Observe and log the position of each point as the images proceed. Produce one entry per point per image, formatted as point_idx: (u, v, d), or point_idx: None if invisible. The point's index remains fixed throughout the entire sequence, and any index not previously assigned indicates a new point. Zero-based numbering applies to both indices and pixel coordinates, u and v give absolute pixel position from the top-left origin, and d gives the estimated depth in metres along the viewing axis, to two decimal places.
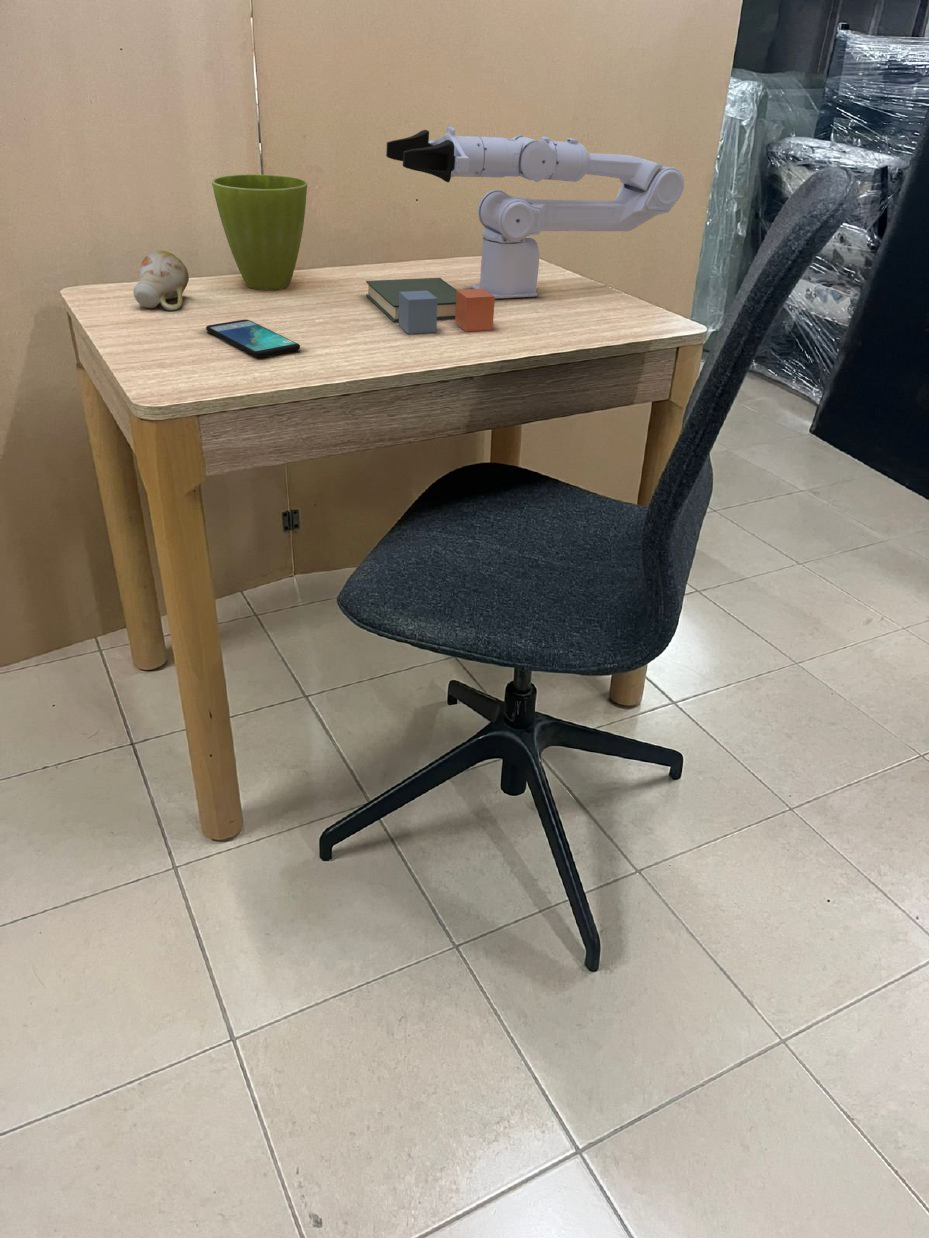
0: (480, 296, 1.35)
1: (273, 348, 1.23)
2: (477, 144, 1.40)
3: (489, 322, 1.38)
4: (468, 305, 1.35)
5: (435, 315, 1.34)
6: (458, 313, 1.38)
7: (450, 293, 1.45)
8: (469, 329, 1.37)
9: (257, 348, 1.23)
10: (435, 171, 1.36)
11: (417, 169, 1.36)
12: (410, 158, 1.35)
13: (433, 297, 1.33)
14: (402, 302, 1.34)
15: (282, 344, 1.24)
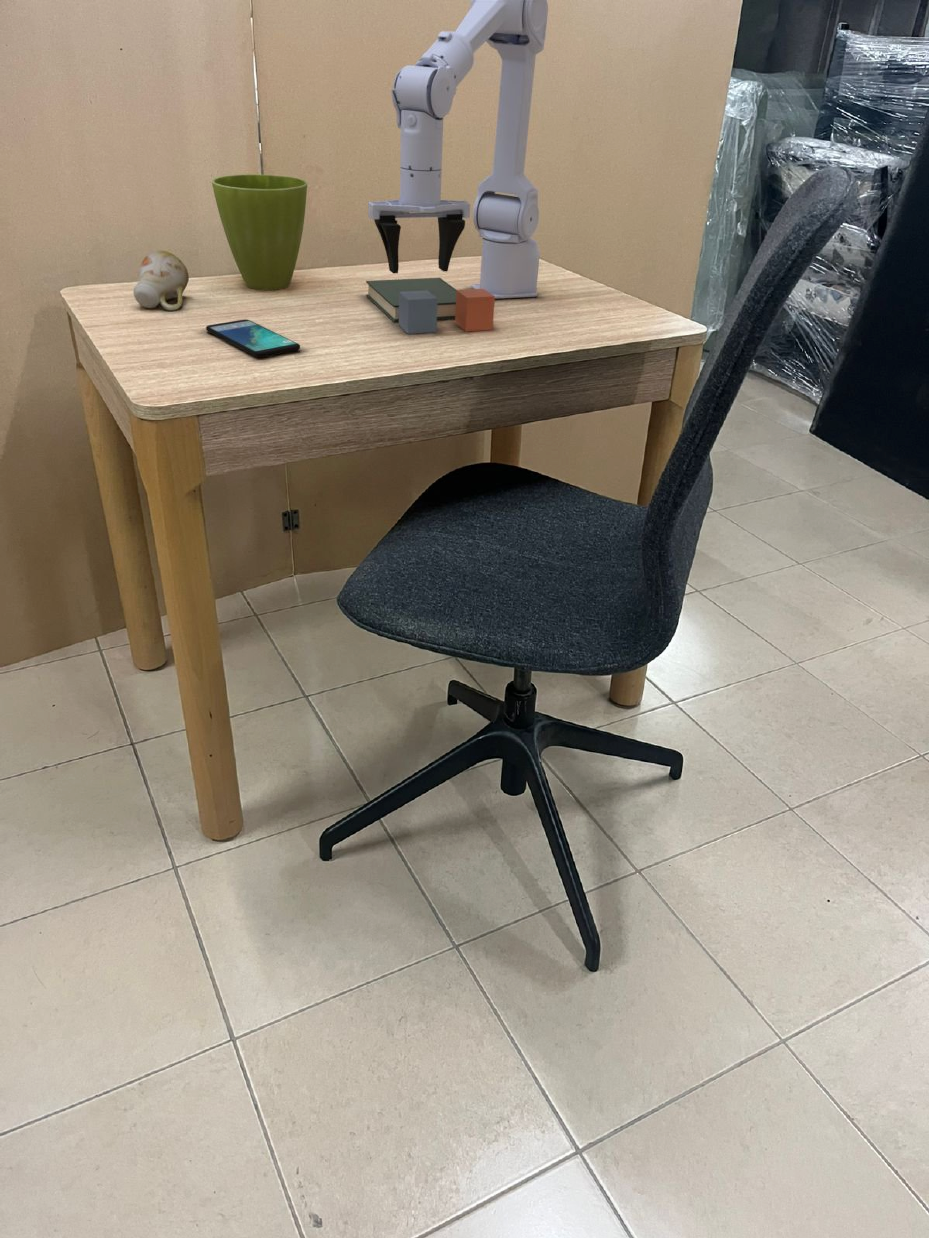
0: (480, 296, 1.35)
1: (273, 348, 1.23)
2: (438, 177, 1.24)
3: (489, 322, 1.38)
4: (468, 305, 1.35)
5: (435, 315, 1.34)
6: (458, 313, 1.38)
7: (450, 293, 1.45)
8: (469, 329, 1.37)
9: (257, 348, 1.23)
10: None
11: None
12: None
13: (433, 297, 1.33)
14: (402, 302, 1.34)
15: (282, 344, 1.24)
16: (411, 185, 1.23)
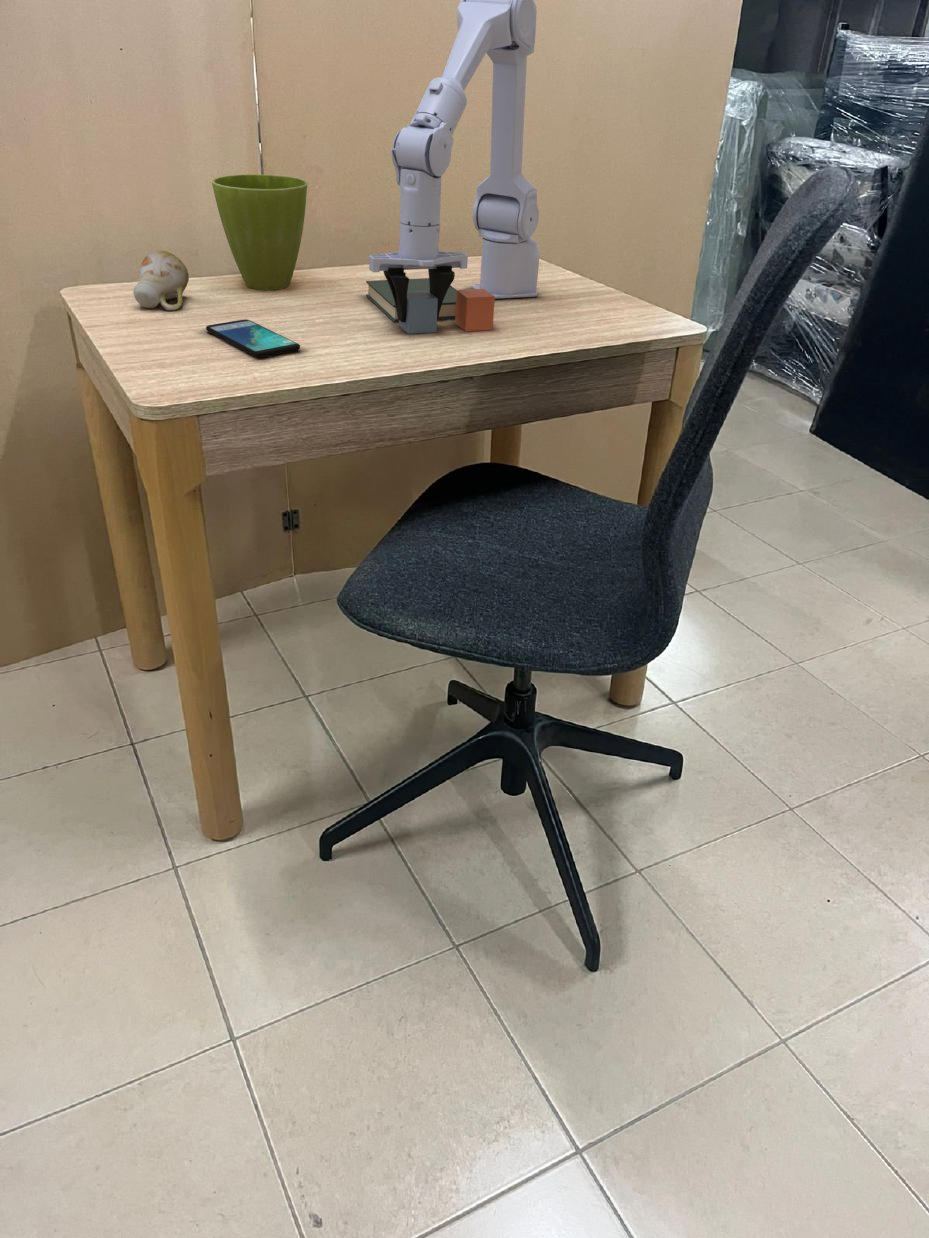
0: (480, 296, 1.35)
1: (273, 348, 1.23)
2: (436, 232, 1.28)
3: (489, 322, 1.38)
4: (468, 305, 1.35)
5: (435, 315, 1.34)
6: (458, 313, 1.38)
7: (450, 293, 1.45)
8: (469, 329, 1.37)
9: (257, 348, 1.23)
10: None
11: None
12: None
13: (433, 297, 1.33)
14: None
15: (282, 344, 1.24)
16: (410, 240, 1.27)
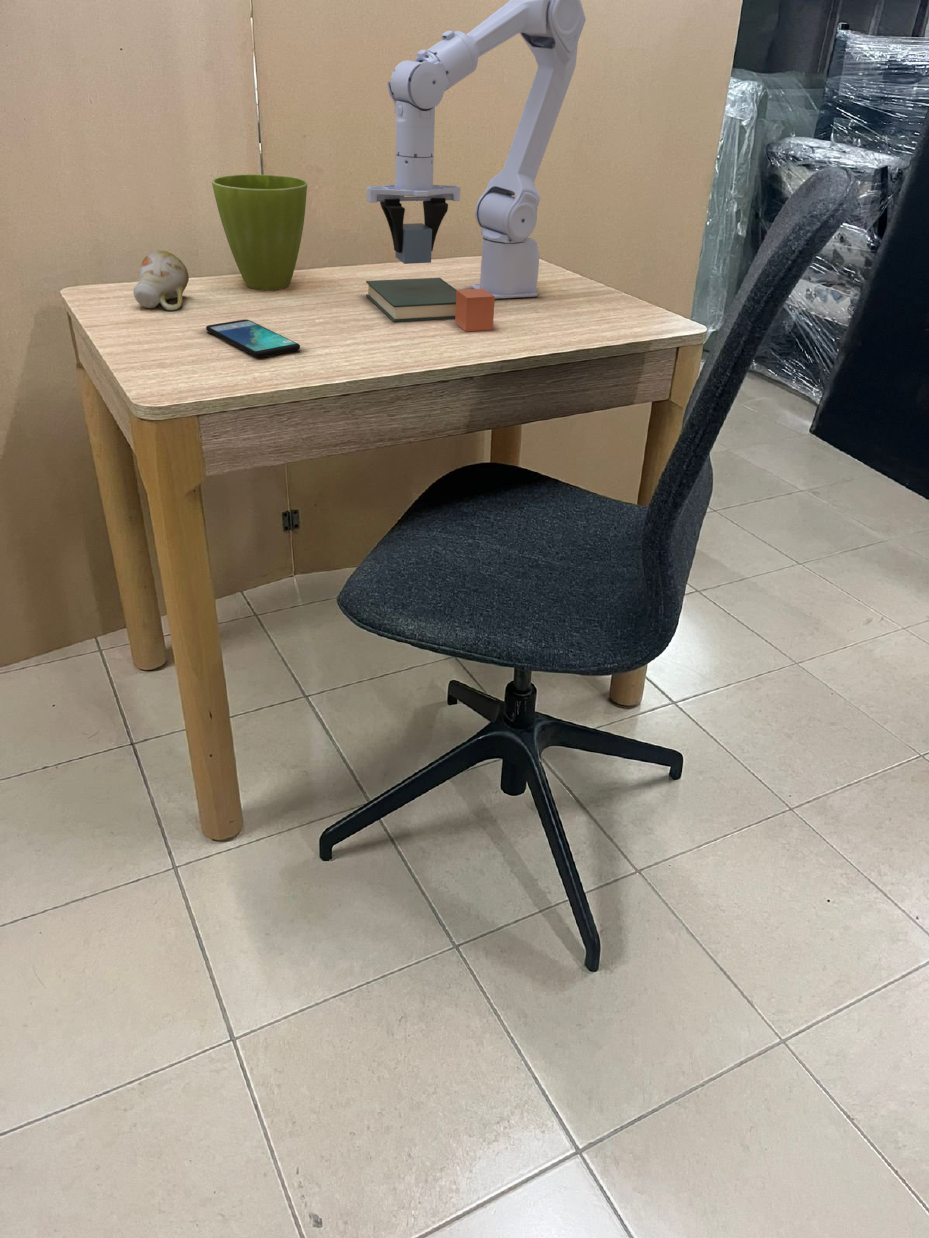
0: (480, 296, 1.35)
1: (273, 348, 1.23)
2: (430, 163, 1.35)
3: (489, 322, 1.38)
4: (468, 305, 1.35)
5: (430, 246, 1.41)
6: (458, 313, 1.38)
7: (450, 293, 1.45)
8: (469, 329, 1.37)
9: (257, 348, 1.23)
10: None
11: None
12: None
13: (428, 228, 1.40)
14: None
15: (282, 344, 1.24)
16: (405, 171, 1.34)
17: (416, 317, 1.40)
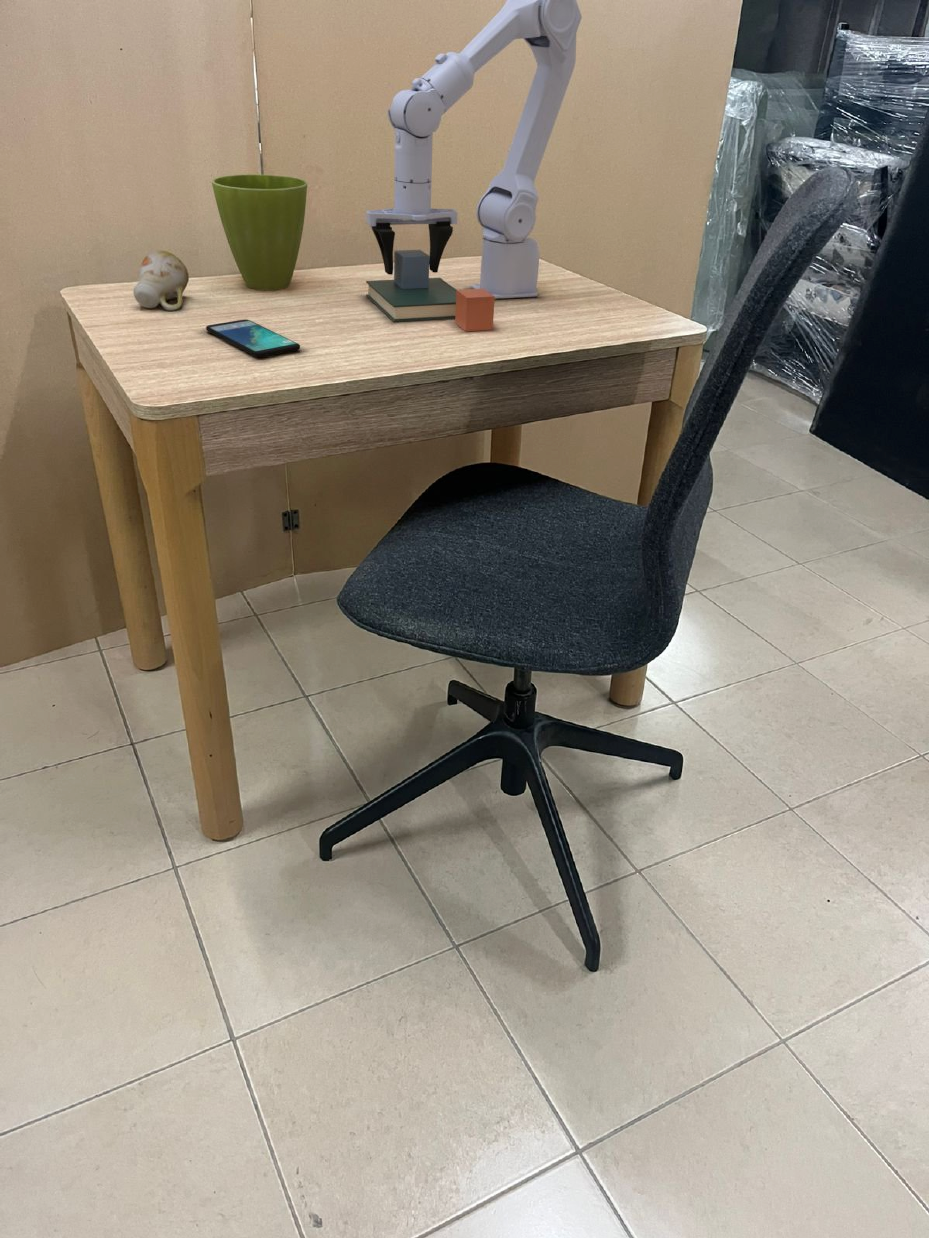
0: (480, 296, 1.35)
1: (273, 348, 1.23)
2: (428, 188, 1.39)
3: (489, 322, 1.38)
4: (468, 305, 1.35)
5: (427, 272, 1.46)
6: (458, 313, 1.38)
7: (450, 293, 1.45)
8: (469, 329, 1.37)
9: (257, 348, 1.23)
10: None
11: None
12: None
13: (425, 255, 1.45)
14: (397, 260, 1.46)
15: (282, 344, 1.24)
16: (404, 196, 1.38)
17: (416, 317, 1.40)
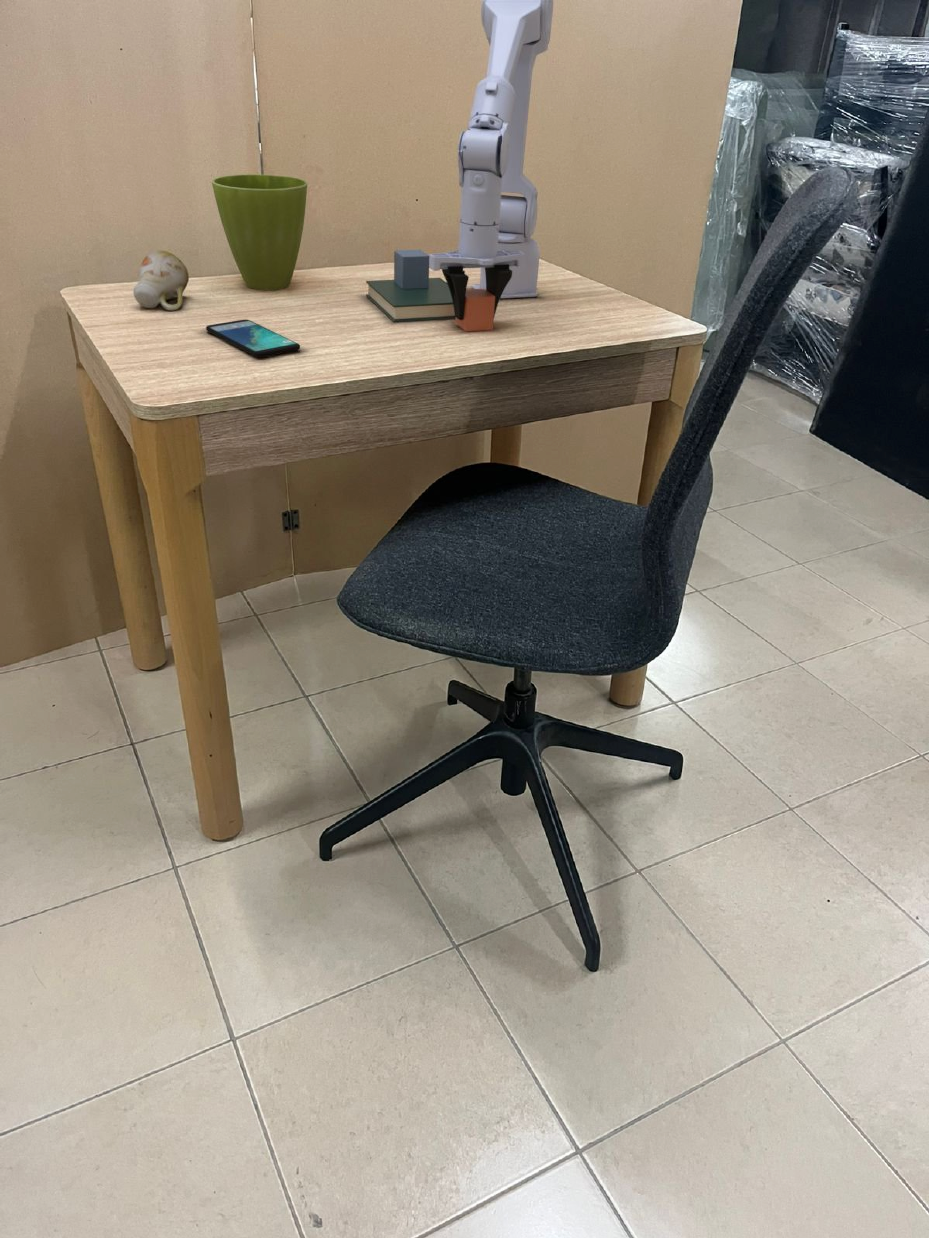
0: (480, 296, 1.35)
1: (273, 348, 1.23)
2: (496, 231, 1.30)
3: (489, 322, 1.38)
4: (468, 305, 1.35)
5: (427, 272, 1.46)
6: None
7: (450, 293, 1.45)
8: (469, 329, 1.37)
9: (257, 348, 1.23)
10: None
11: None
12: None
13: (425, 255, 1.45)
14: (397, 260, 1.46)
15: (282, 344, 1.24)
16: (470, 239, 1.30)
17: (416, 317, 1.40)
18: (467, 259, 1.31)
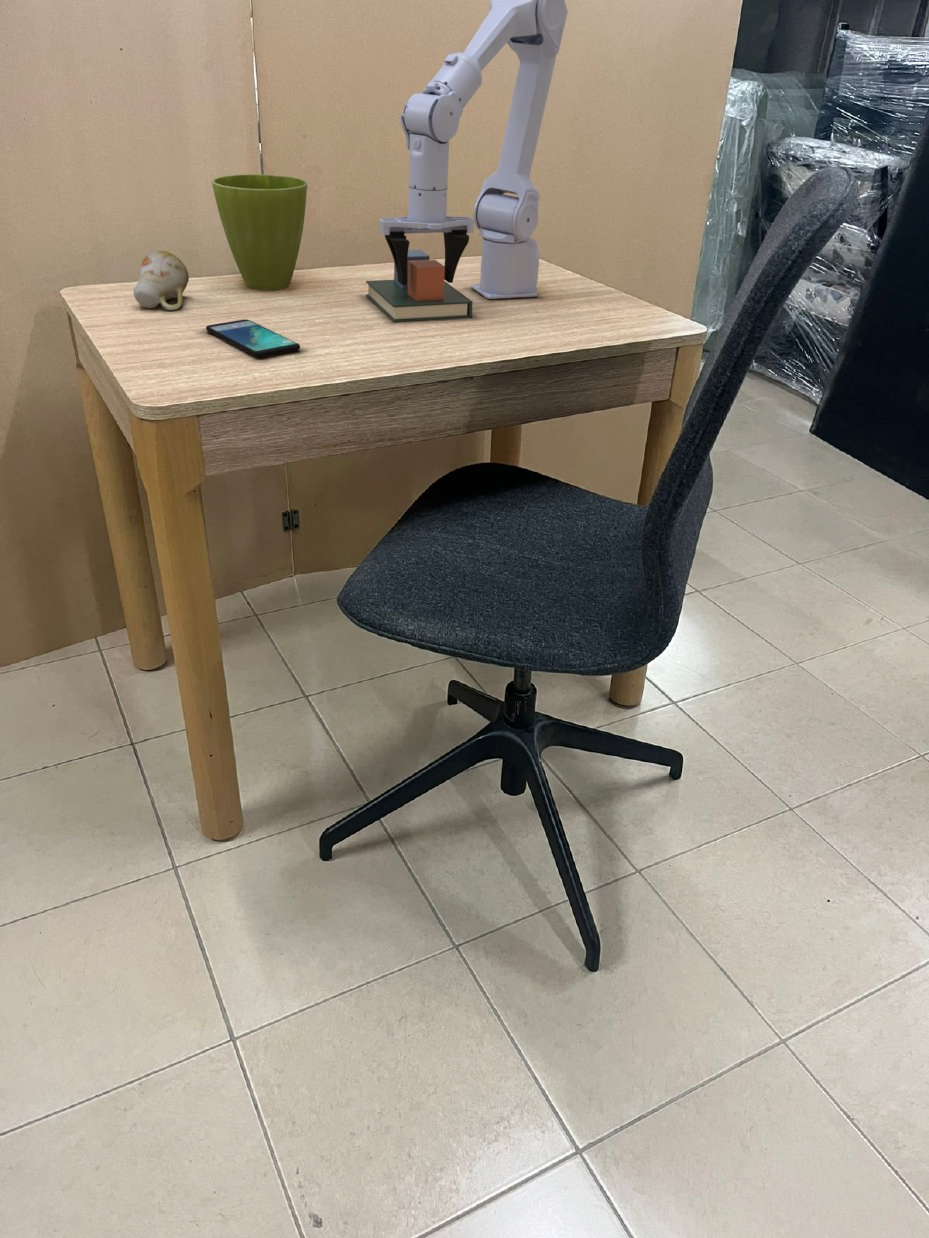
0: (430, 266, 1.39)
1: (273, 348, 1.23)
2: (444, 196, 1.33)
3: (440, 292, 1.41)
4: (418, 275, 1.38)
5: None
6: (410, 283, 1.42)
7: (450, 293, 1.45)
8: (420, 299, 1.40)
9: (257, 348, 1.23)
10: None
11: None
12: None
13: (425, 255, 1.45)
14: None
15: (282, 344, 1.24)
16: (419, 204, 1.33)
17: (416, 317, 1.40)
18: (416, 224, 1.34)
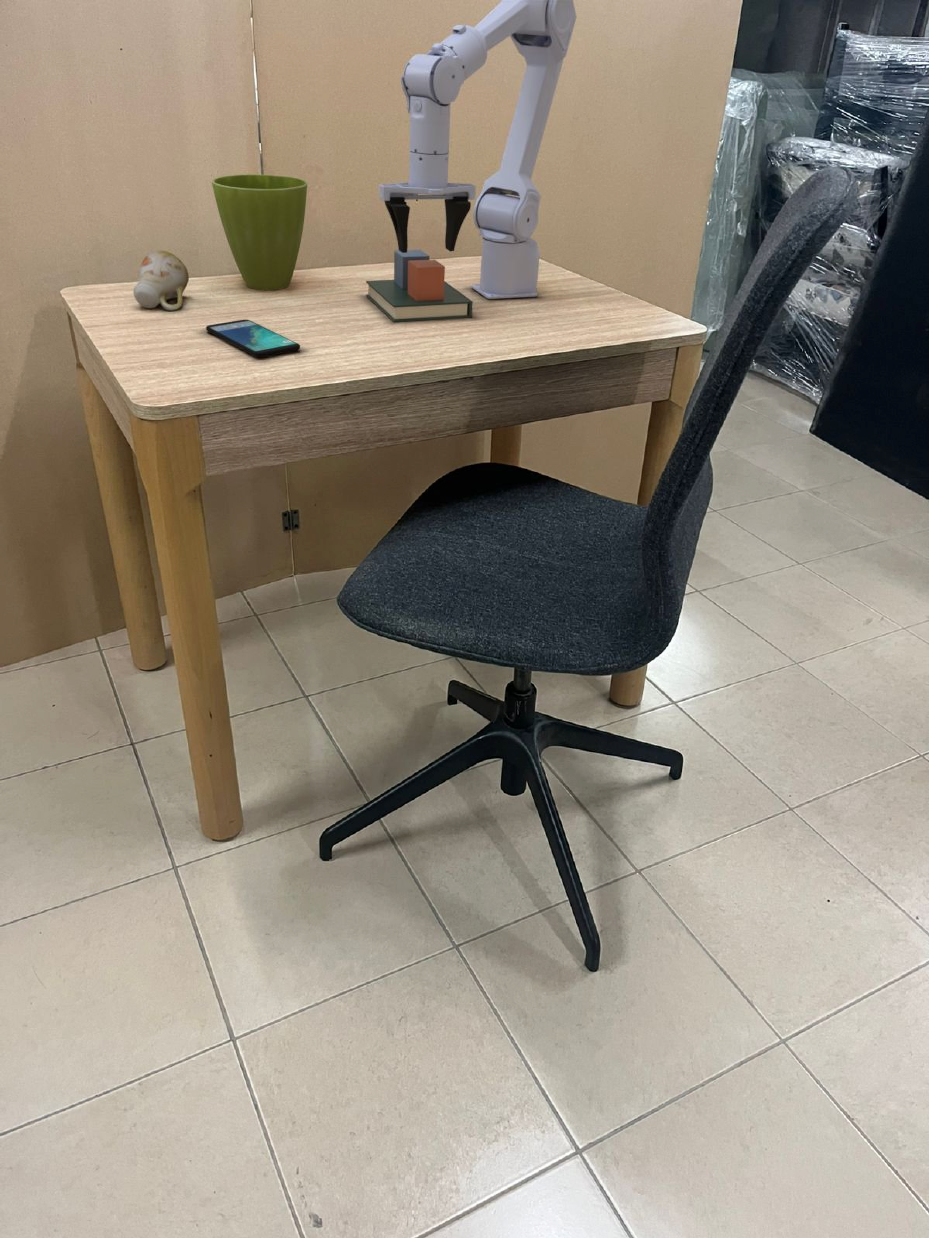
0: (430, 266, 1.39)
1: (273, 348, 1.23)
2: (445, 160, 1.31)
3: (440, 292, 1.41)
4: (418, 275, 1.38)
5: None
6: (410, 283, 1.42)
7: (450, 293, 1.45)
8: (420, 299, 1.40)
9: (257, 348, 1.23)
10: None
11: None
12: None
13: (425, 255, 1.45)
14: (397, 260, 1.46)
15: (282, 344, 1.24)
16: (419, 168, 1.30)
17: (416, 317, 1.40)
18: (417, 189, 1.31)
